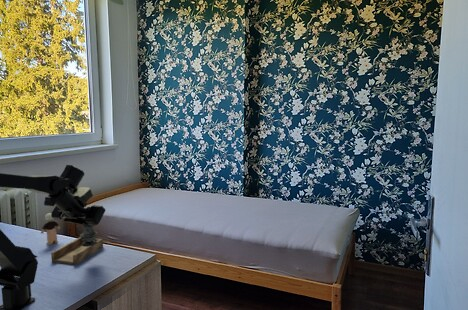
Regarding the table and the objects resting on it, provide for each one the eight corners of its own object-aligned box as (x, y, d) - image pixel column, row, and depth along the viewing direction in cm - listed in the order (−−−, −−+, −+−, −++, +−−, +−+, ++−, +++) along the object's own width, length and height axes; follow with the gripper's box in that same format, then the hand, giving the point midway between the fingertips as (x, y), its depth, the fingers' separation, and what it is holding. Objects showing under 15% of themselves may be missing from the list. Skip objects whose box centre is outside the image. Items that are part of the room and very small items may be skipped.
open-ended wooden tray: (75, 264, 123) (75, 255, 123) (51, 261, 126) (51, 252, 125) (103, 247, 139) (102, 239, 138) (81, 245, 141) (80, 236, 141)
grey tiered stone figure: (78, 243, 126) (76, 210, 124) (95, 239, 129) (94, 207, 128) (82, 248, 121) (80, 214, 120) (100, 244, 124) (98, 211, 123)
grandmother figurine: (55, 239, 147) (53, 210, 145) (62, 240, 146) (60, 211, 144) (39, 246, 140) (37, 215, 138) (46, 247, 139) (44, 216, 137)
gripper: (100, 183, 116) (122, 207, 127) (56, 179, 122) (80, 203, 133) (84, 212, 109) (108, 235, 121) (38, 206, 115) (65, 229, 127)
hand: (90, 224), depth 125 cm, fingers closed on grey tiered stone figure, 4 cm apart
